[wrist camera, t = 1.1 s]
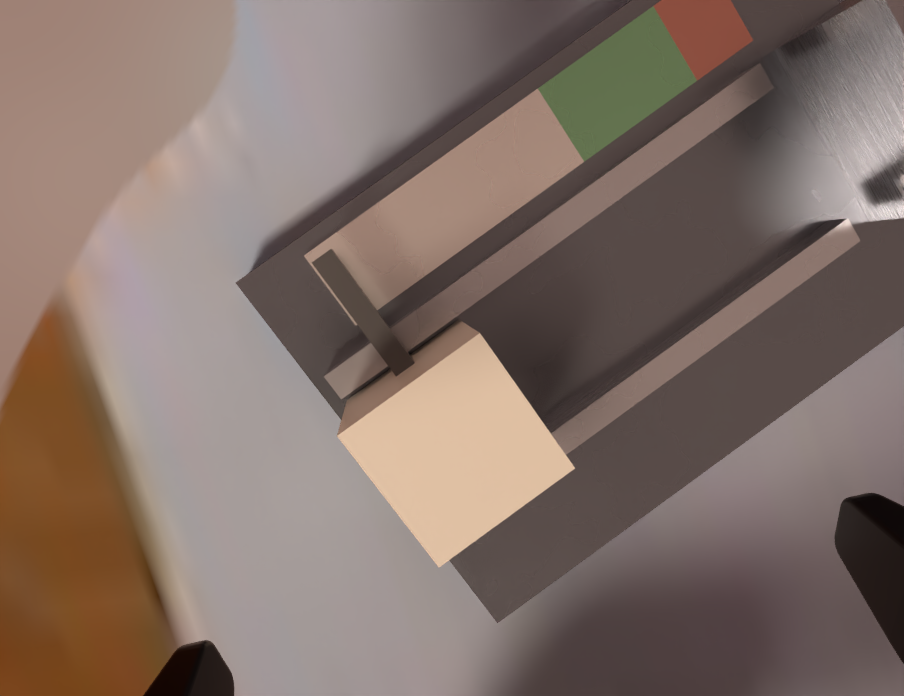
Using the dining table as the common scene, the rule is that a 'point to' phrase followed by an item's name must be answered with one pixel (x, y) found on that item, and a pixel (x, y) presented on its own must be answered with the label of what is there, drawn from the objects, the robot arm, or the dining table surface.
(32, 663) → the dining table surface
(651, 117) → the bench gauge
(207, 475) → the dining table surface
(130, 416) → the dining table surface
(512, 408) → the cube with stick handle
